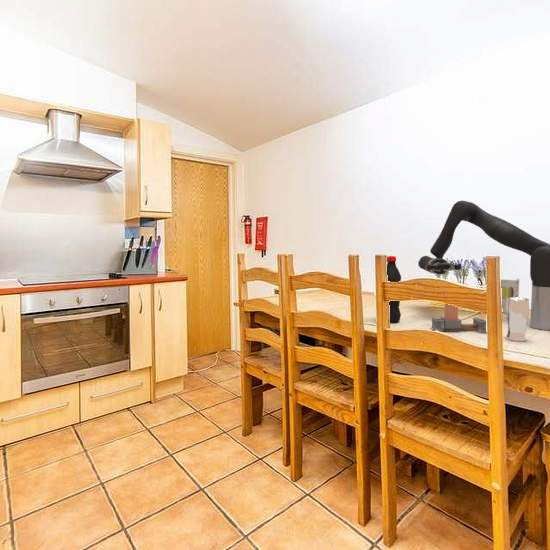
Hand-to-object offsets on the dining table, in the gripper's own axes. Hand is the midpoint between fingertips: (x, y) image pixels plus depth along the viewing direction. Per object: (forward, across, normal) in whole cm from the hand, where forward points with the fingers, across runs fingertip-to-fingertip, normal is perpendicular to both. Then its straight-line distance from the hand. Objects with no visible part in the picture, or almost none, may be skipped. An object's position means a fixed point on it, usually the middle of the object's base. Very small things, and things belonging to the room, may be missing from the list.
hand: (447, 267), depth 156 cm
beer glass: (+24, +17, +26) cm, 39 cm away
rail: (+13, 0, +25) cm, 28 cm away
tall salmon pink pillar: (+13, -3, +23) cm, 27 cm away
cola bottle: (-2, -24, +24) cm, 34 cm away
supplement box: (-29, +35, +25) cm, 52 cm away
